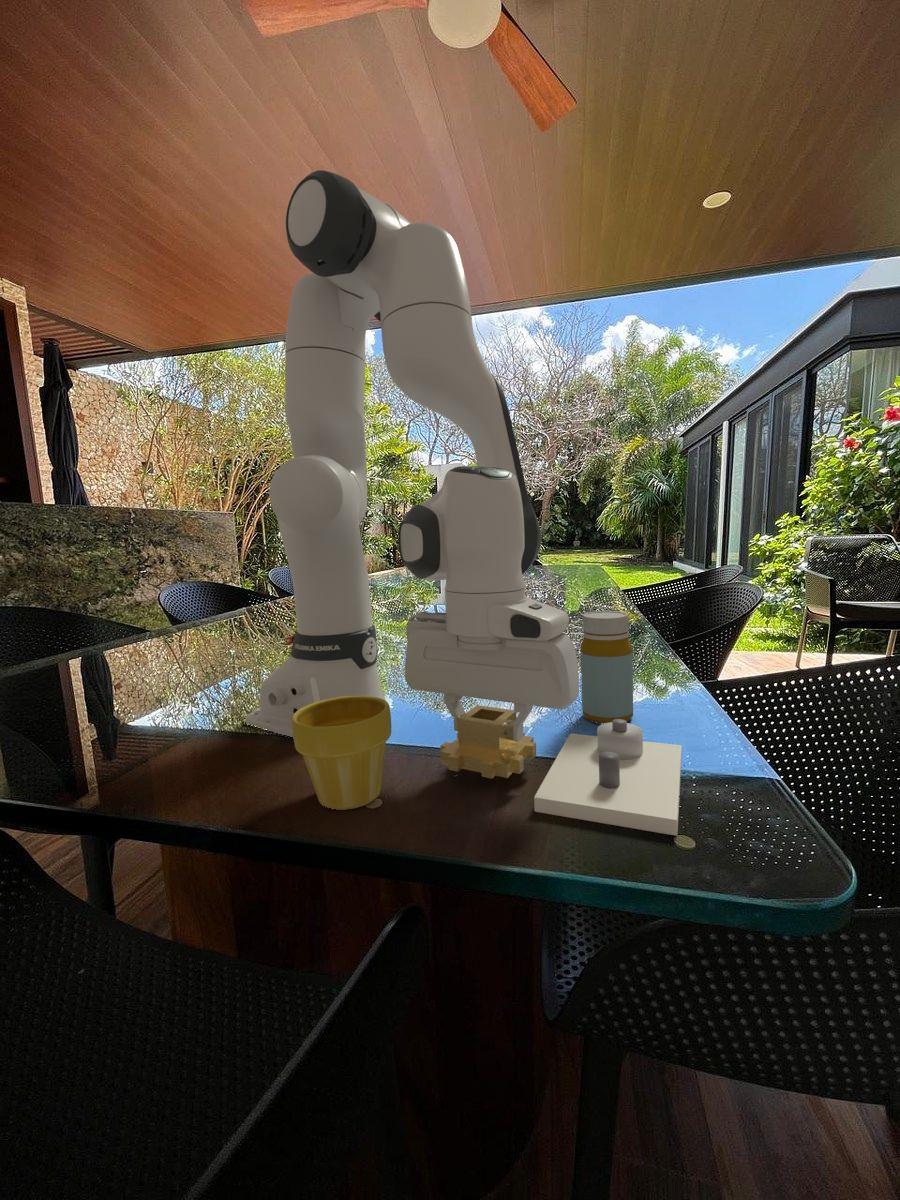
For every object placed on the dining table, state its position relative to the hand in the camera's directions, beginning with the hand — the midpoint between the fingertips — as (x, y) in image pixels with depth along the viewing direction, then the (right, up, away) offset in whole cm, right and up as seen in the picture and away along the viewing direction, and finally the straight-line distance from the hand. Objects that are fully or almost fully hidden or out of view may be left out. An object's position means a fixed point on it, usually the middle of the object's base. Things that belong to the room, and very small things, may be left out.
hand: (488, 734), depth 61 cm
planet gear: (0, -3, 0) cm, 3 cm away
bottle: (+18, -2, +16) cm, 24 cm away
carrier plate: (+13, -4, -3) cm, 14 cm away
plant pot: (-15, -6, -2) cm, 17 cm away
